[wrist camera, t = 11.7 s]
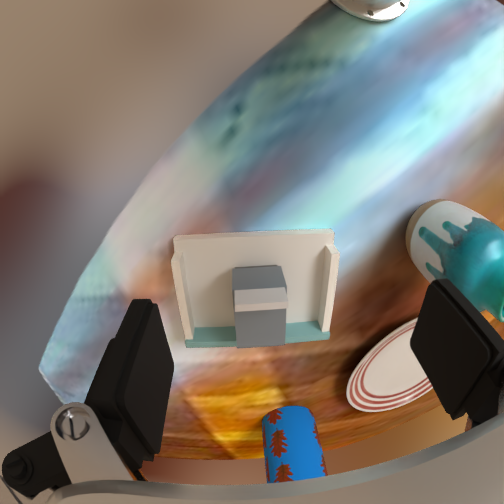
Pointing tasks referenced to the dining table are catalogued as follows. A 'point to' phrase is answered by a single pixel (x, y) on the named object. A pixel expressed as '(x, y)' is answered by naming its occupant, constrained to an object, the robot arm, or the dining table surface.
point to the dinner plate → (388, 374)
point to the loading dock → (254, 254)
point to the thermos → (292, 445)
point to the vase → (459, 252)
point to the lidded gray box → (259, 305)
